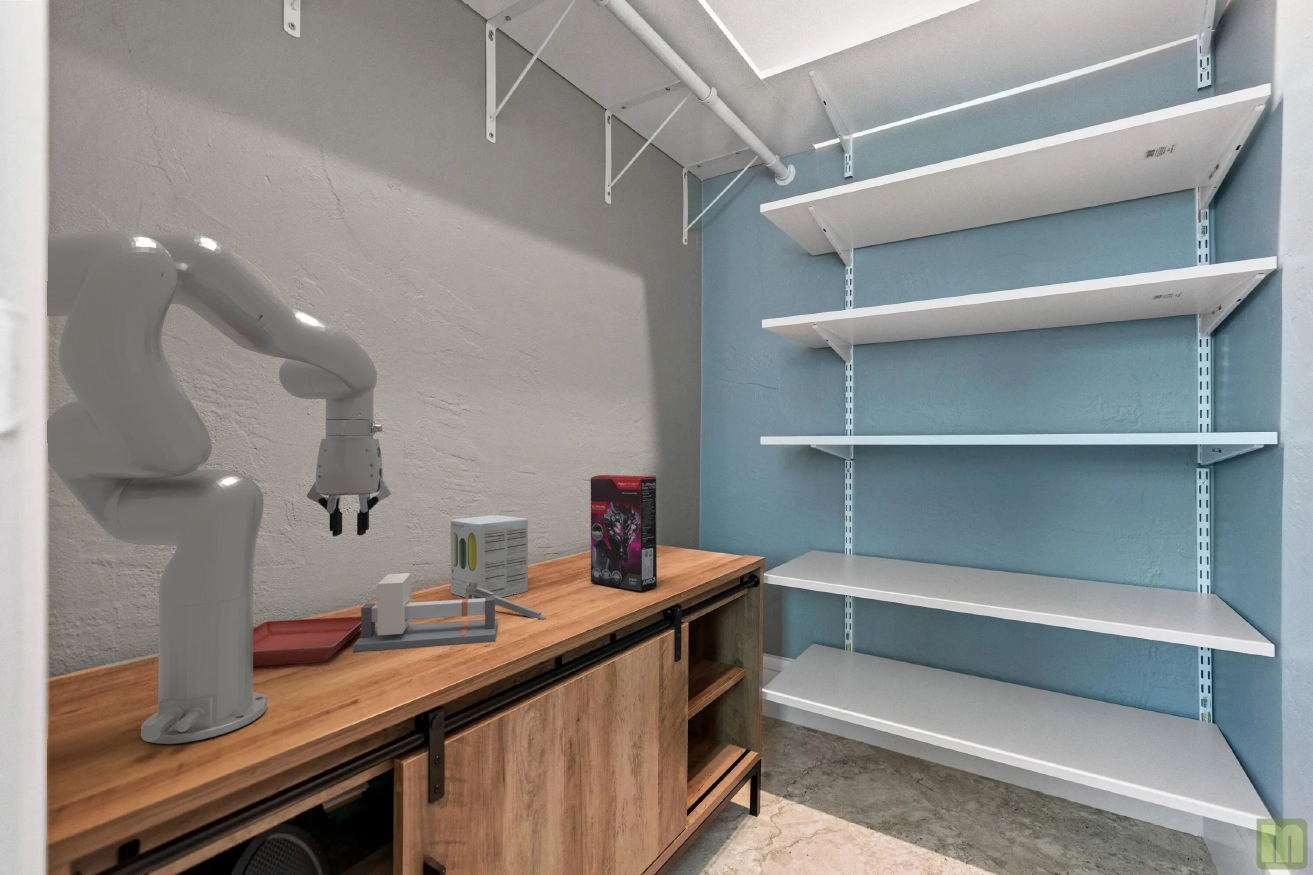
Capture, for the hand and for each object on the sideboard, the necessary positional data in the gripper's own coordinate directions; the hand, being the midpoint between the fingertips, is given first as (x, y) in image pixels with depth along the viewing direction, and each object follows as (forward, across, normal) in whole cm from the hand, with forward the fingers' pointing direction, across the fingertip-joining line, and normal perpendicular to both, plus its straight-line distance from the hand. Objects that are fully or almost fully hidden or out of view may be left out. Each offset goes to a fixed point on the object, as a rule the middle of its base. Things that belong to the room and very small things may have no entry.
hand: (349, 533), depth 104 cm
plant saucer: (+20, +8, +1) cm, 21 cm away
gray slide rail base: (+19, -14, 0) cm, 23 cm away
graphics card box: (+20, -54, -31) cm, 65 cm away
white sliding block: (+17, -8, 0) cm, 19 cm away
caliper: (+20, -26, -13) cm, 35 cm away
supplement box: (+20, -22, -32) cm, 43 cm away
